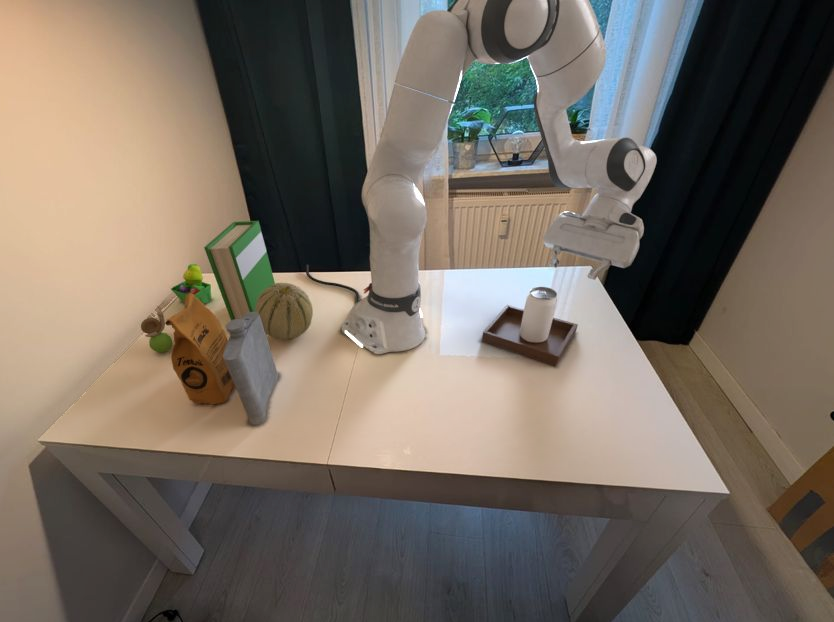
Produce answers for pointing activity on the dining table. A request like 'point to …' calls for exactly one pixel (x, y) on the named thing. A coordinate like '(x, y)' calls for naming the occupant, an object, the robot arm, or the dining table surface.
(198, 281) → the fruit basket
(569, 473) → the dining table surface
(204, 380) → the coffee package
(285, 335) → the cantaloupe
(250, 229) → the hardback book
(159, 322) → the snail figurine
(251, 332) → the hip flask
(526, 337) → the can
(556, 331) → the tray
